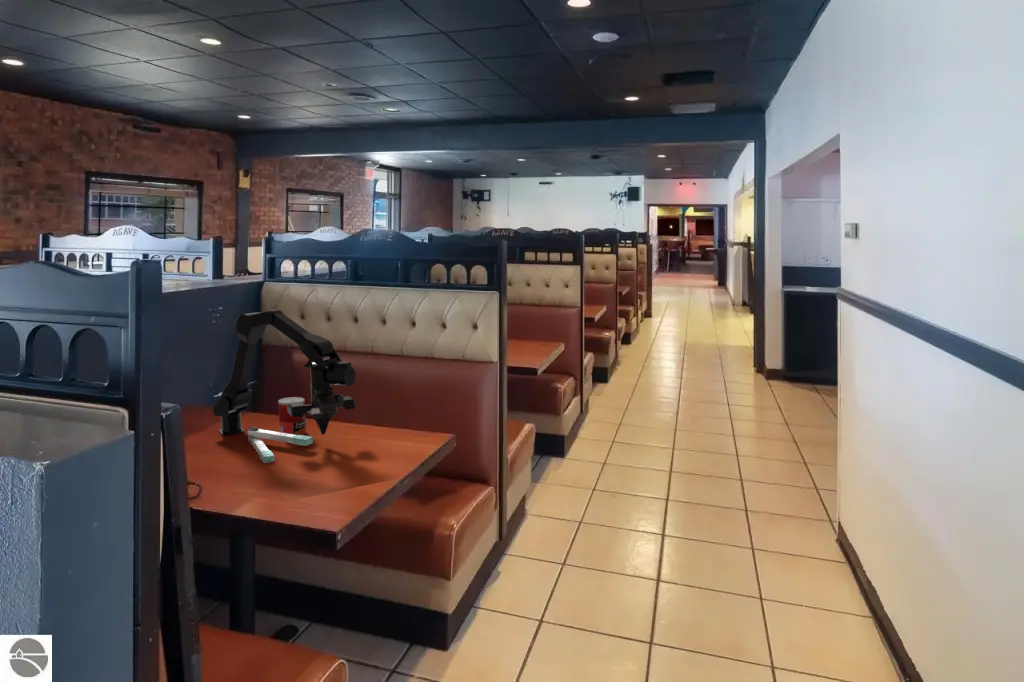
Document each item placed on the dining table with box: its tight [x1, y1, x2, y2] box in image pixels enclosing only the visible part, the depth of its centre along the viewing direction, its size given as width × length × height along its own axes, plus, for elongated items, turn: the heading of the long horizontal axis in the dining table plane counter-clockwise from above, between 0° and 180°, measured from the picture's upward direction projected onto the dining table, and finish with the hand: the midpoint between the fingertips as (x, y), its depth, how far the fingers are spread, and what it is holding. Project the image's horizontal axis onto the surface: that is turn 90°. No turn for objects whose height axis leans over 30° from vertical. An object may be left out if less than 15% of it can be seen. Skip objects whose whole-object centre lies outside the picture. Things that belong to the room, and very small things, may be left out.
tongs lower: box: [247, 436, 276, 464], centre depth 185 cm, size 23×3×2 cm, turn 33°
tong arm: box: [247, 425, 314, 447], centre depth 189 cm, size 23×3×2 cm, turn 68°
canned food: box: [277, 396, 307, 436], centre depth 200 cm, size 8×8×11 cm
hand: (323, 434), depth 190 cm, fingers closed
